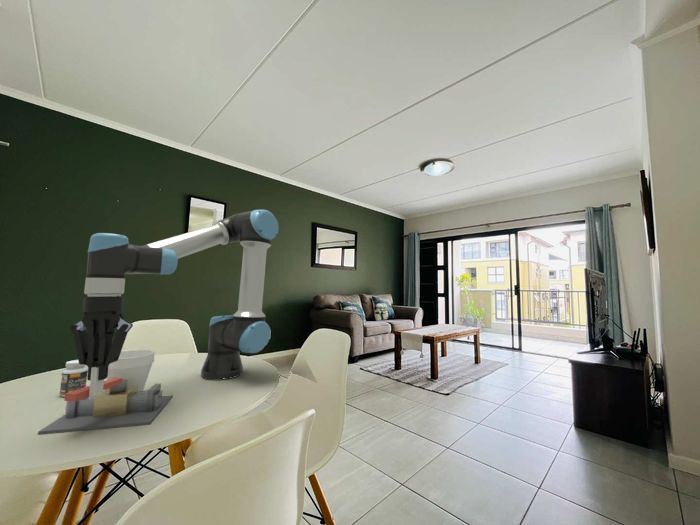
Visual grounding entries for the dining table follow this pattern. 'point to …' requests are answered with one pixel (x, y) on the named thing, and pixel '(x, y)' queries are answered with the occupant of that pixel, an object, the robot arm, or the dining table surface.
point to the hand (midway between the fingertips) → (96, 393)
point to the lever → (113, 384)
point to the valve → (116, 402)
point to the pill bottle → (73, 377)
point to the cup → (132, 367)
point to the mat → (104, 420)
